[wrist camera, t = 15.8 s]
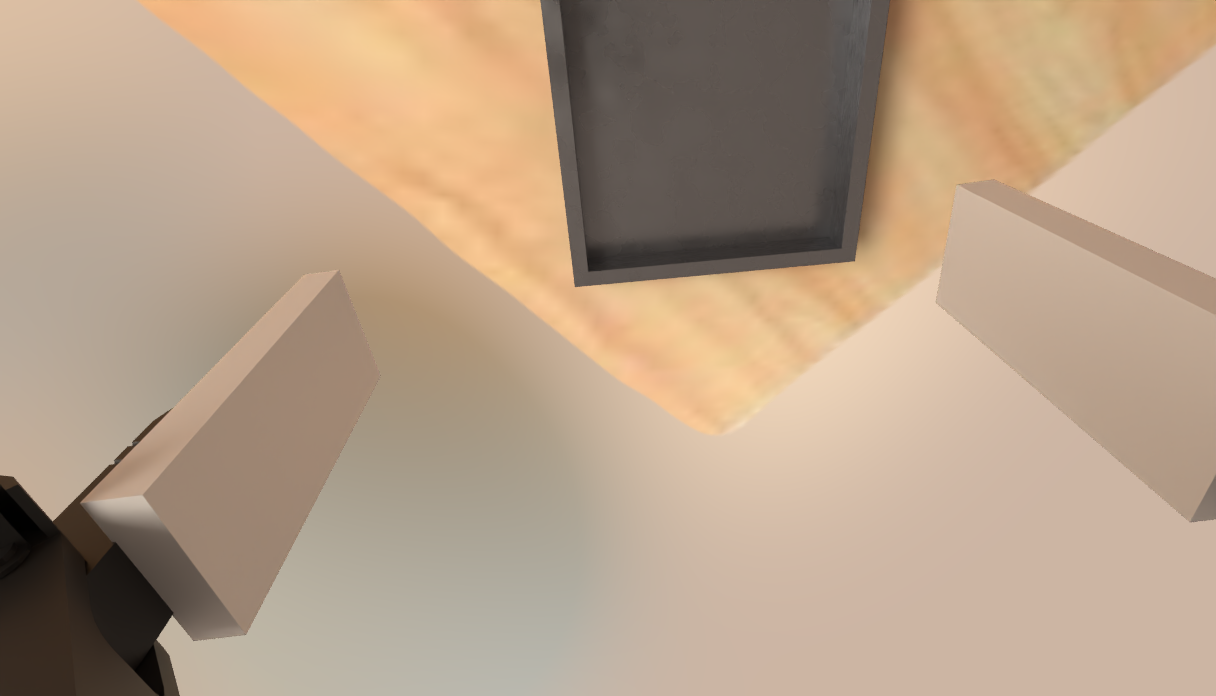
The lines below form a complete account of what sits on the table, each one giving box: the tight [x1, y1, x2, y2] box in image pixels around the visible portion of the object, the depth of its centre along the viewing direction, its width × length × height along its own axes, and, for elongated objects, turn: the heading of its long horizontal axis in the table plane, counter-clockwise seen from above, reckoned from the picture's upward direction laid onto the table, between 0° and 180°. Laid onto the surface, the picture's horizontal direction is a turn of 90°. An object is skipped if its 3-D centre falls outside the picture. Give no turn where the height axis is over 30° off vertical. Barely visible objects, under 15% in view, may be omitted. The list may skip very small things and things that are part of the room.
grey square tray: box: [541, 0, 890, 287], centre depth 37 cm, size 19×19×4 cm
